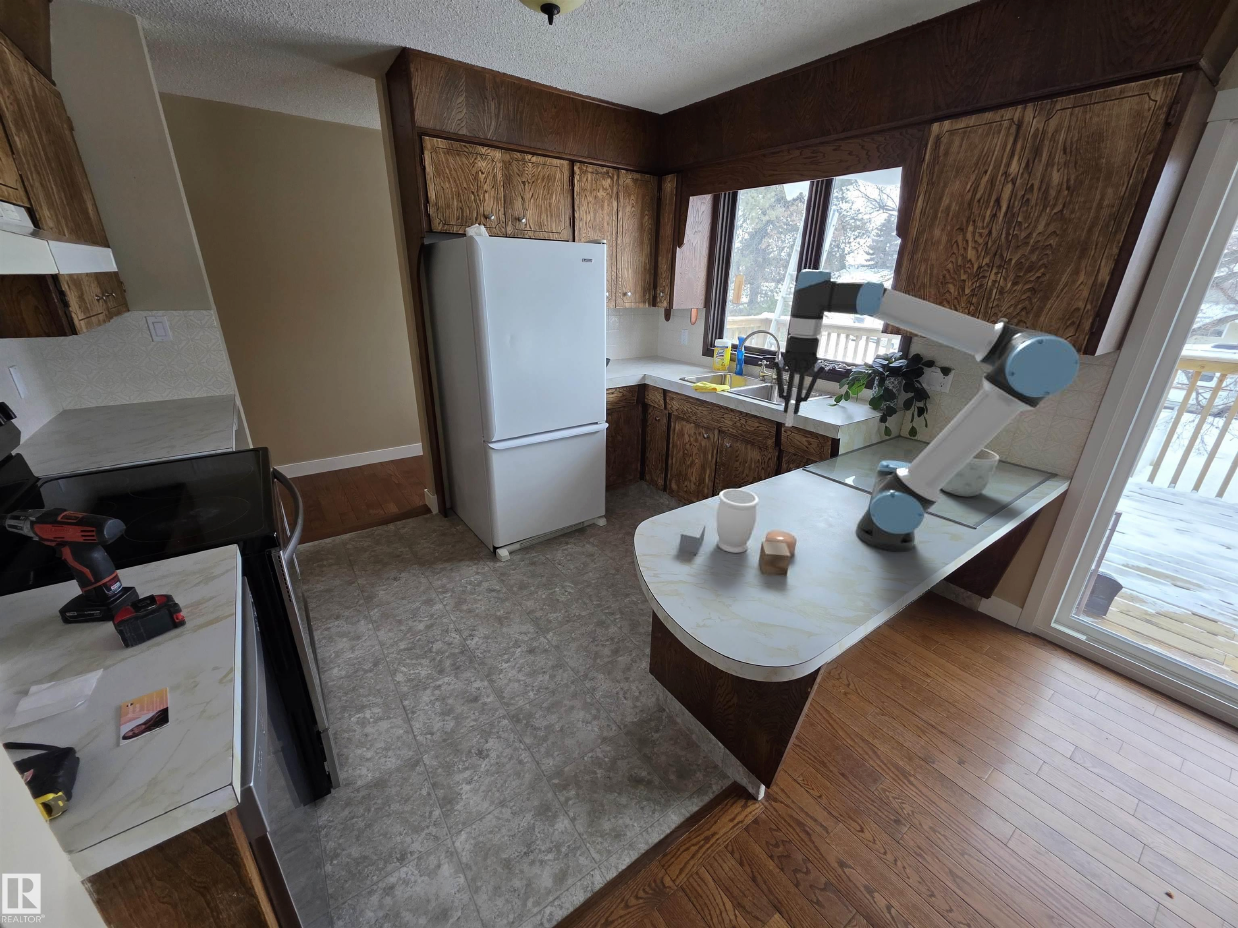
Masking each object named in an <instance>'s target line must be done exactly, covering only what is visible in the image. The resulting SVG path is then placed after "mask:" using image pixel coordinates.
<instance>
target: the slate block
mask: <svg viewBox="0 0 1238 928" xmlns="http://www.w3.org/2000/svg"><path fill="white" fill-rule="evenodd" d="M705 532H706V523H701V522H697V521H691V520H687V522H686V524H685V526H684V527H683V529H682V531H681V533H680V538H679V539H680V540H679V548H678V549H679V550H680V551H684V552H689V553H694V554H699V551H700V549H701V547H702V545H703V543H704V540H705Z"/></svg>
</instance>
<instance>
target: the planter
mask: <svg viewBox="0 0 1238 928" xmlns="http://www.w3.org/2000/svg"><path fill="white" fill-rule="evenodd" d="M999 461H1000V456H999V455H998V454H997V453H995V452H993V451H991V450H989V449H986V448H984V447H983V448H982V449H981V450H980V451H979V452H978V453H977V454H976V455H975V456H974V457H973V458H972V459H971V460H970V461H968V462H967V463H966V464H965V465H964V466H963V467H962V468H961V469H960V470H959V471H958V472H957V473H956V474H955V475H954V476H953V477H952V478H951V479H950V480H949V481H948V482H947V483H946V484H945V485H944V486H943V487H942V488H941V489H942V490H943V491H944V492H946V493H949V494H951V495H955V496H958V497H975V496H978V495H980V494H982V492H984V491H985V490H986V488H987V487H988V486H989V483H990V482H991V478H992V476H993V474H994V472H995V469H996V467H997V465H998V463H999Z"/></svg>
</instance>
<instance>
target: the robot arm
mask: <svg viewBox="0 0 1238 928" xmlns="http://www.w3.org/2000/svg"><path fill="white" fill-rule="evenodd" d="M825 313H830V314H831V313H834V314H836V313H837V314H845V315H846V314H847V315H858V316H862V317H863V316H867V317H870V318H874V319H876V320H879V321H881V322H884V323H887V324H889V325H893V326H895V327H898V328H900V329H902V330H906V331H908V332H911V333H912V334H913V333H914V334H916V335H919V336H922V337H925V338H927V339H930V340H931V341H932V340H933V341H935V342H938V343H940V344H944V345H946V346H948V347H952V348H953V349H957V350H959V351H962V352H965V353H967V354H970V355H973V356H974V358H975V359H976V361H977V362H979V363H981V364H984V365H987V366H988V367H990V368H991V369H990V370H989V371H988V372H987V373H986V374H985V375H984V376H983V377H982V385H983V387H982V389H981V390H980V391H979V392H978V393H977V394H976V395H975V396H974V397H973V399H972V400H970V401H969V403H968V404H966V405H965V407H964V408H963V409H962V410H961V411H960V412H959V413H958V414H957V415H956V416H955V417H954V418H953V419H952V420H951V421H950V423H948V425H946V426H945V428H944V429H943V430H942V431H941V432H940V433H939V434H938V435H937V436H936V437H935V438H934V439H933V440H932V442H930V443H929V444H928V445H927V447H926V448H925V449H924V450H923V451H922V452H921V453H920V454H919V455H918V456H917V457H915V459H914V460H913V461H912V462H911V463H909V462H906V461H905V462H904V461H898V460H882V461H881V462H879V464H878V467H877V468H876V474H875V479H874V483H873V487H872V490H871V494H870V495H871V496H870V498H869V504H868V508H867V509H866V511H865V512H864V514H863V515H862V517H861V518H860V520H858V522H857V524H856V529H855V534H856V536H857V537H858V538H859V539H860V540H861V541H862V542H864V543H866V544H867V545H870V546H872V547H874V548H877V549H880V550H885V551H889V552H907V551H910V550H912V549H913V547H914V546H915V545H914V544H915V541H916V533H915V531H916V529H918V528H919V527H920V526H921V525H922V523H923V522H924V519H925V514H926V513H927V512H928V511H929V510H930V509H931V508H932V507H933V506H934V505H935V504H936V503H937V502H939V500H940V499H941V498H940V490H941V489H942V487H943V486H944V485H945V484H946V483H947V482H948V481H949V480H950V479H951V478H952V477H953V476H954V475H955V474H956V473H957V472H958V471H959V470H960V469H961V468H962V467H963V466H964V465H965V464H966V463H967V462H968V461H970V460H971V459H972V458H973V457H974V456H975V455H976V454H977V453H978V452H979V451H980V450H981V449H982V448H983V449H984V447H985V446H986V445H987V444H988V443H989V442H990V441H991V440H993V438H994V437H996V435H997V434H999V433H1000V432H1001V431H1002V430H1003V429H1004V428H1005V427H1006V426H1007V425H1008V424H1009V423H1010V422H1011V421H1012V420H1013V419H1014V418H1015V417H1016V416H1017V415H1018V414H1020V413H1021V412H1023V411H1029V410H1035V409H1036V408H1037V407H1038V406H1039V405H1040V404H1041V403H1042V402H1043V401H1044V400H1045V399H1047V397H1049V396H1052V395H1055V394H1057V393H1060V392H1062V391H1063V390H1064V389H1066V388H1067V387H1069V386H1070V385H1071V383H1073V382H1074V380H1075V379H1076V377H1077V375H1078V372H1079V370H1080V369H1079V368H1080V357H1079V355H1078V353H1077V350H1076V349H1075V347H1074V346H1073V345H1072V344H1071V343H1070V342H1068V341H1067V340H1066V339H1064V338H1061V337H1059V336H1057V335H1055V334H1051V333H1048V332H1045V331H1041V330H1040V331H1039V330H1034V329H1029V328H1023V327H1020V326H1019V327H1018V326H1014V325H1011V324H1008V323H1005V322H999V323H996V324H993V323H990V322H987V321H986V320H985V321H984V320H982V319H979V318H975V317H973V316H970V315H967V314H964V313H961V312H958V311H955V310H953V309H949V308H946V307H943V306H941V305H938V304H935V303H931V302H929V301H927V300H923V299H920V298H918V297H915V296H913V295H912V296H911V295H909V294H906V293H903V292H900V291H897V290H894V289H891V288H889V287H888V288H887V287H885V284H884V283H883V282H881V281H873V280H867V279H858V280H846V279H845V280H843V279H842V280H841V279H835V278H834V279H832V271H830V270H819V269H818V270H815V269H813V270H812V269H803V270H801V271H800V272H799V273H798V277H797V281H796V287H795V289H794V298H793V306H792V311H791V318H790V323H789V329H788V333H789V334H790V335H788V337H787V341H786V342H787V343H786V348H785V353H784V354H783V355H782V357H781V358H780V359H776V360H774V361H773V363H772V364H773V367H774V369H775V371H776V372H775V373H776V383H777V385H776V386H777V394H778V395H777V396H778V398H779V399H782V400H784V406H783V413H784V414H786V419H785V424H784V427H789V428H790V427H792V426H793V423H794V417H795V415H798V414H799V412H800V407H801V403H804V402H808V401H809V399H810V397H811V394H812V392H813V390H814V387H815V386H816V383H817V381H818V379H819V377H820V375H821V374H822V373H823V372H824V371H825V369H826V365H824V364H822V363H820V362H819V357H818V356H817V355H818V349H819V344H820V337H819V336H820V335H821V333H822V328H823V321H824V315H825ZM784 364H785V366H786V367H787V368H786V369H787V370H788V371H789V372H788V373H789V374H788V379H787V387H786V390H785V384H784V382H785V381H784V372H783V371H784V370H783V366H784ZM814 366H815V367H814ZM813 367H814V374H813V376H812V378H811V380H810V383H809V384H808V387H807V389H806V391H805V394H804V395H803V392H804V388H805V387H804V386H805V380H806V375H807V373H808V372H809V371H810V370H811V369H812V368H813ZM796 373H799V375H798V376H799V377H798V382H797V389H796V393H795V400H792V395H793V390H794V384H795V383H794V382H795V377H796ZM785 391H786V393H785Z"/></svg>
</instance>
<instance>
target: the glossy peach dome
mask: <svg viewBox="0 0 1238 928" xmlns="http://www.w3.org/2000/svg"><path fill="white" fill-rule="evenodd" d="M764 541H765V542H777V543H786V545H787V548H788V550H789V553H790V555H791V556H790V558H792V557H793V556H794V555H795V551H796V546H797V542H798V541H797V538H796V536H795V535H793V534H791V533H789V532H787V531H784V530H771V531H770V530H769V531H768V532H767V533H766V534H765V539H764Z"/></svg>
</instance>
